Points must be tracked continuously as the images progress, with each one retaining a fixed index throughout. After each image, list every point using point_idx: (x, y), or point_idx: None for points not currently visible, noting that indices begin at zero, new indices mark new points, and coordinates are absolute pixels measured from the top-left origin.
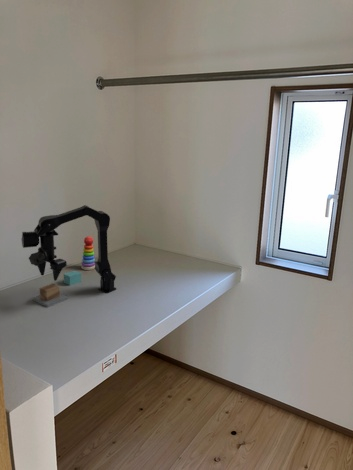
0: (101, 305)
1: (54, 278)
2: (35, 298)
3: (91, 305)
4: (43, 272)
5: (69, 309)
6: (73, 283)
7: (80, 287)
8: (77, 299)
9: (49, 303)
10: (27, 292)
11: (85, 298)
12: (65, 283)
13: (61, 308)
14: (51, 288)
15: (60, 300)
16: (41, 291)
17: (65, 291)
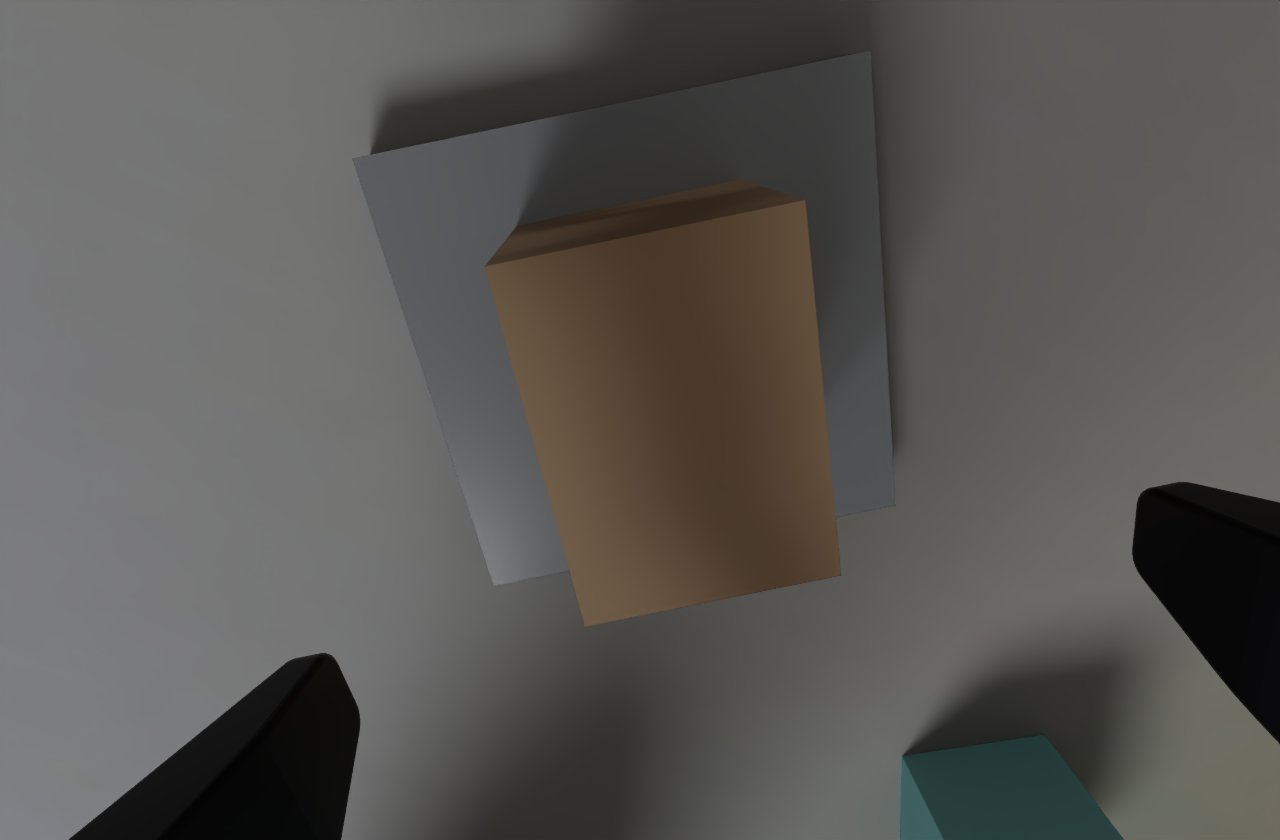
0: (31, 802)
1: (209, 733)
2: (791, 90)
3: (91, 715)
4: (1227, 636)
5: (90, 423)
6: (906, 812)
7: (746, 823)
8: (398, 656)
9: (391, 218)
10: (1227, 140)
11: (368, 743)
12: (1011, 740)
13: (193, 336)
14: (576, 443)
15: (452, 445)
16: (708, 208)
17: (771, 641)
